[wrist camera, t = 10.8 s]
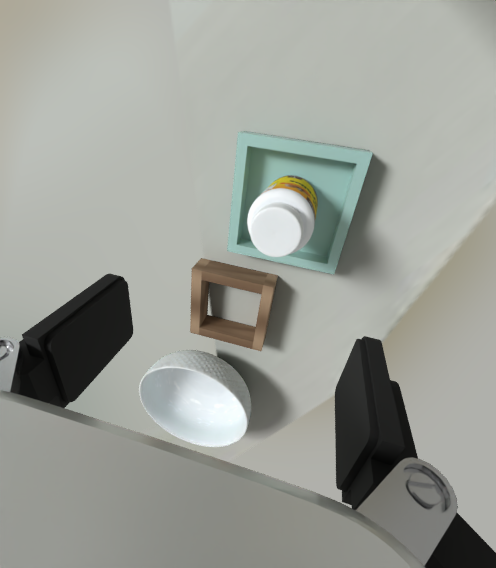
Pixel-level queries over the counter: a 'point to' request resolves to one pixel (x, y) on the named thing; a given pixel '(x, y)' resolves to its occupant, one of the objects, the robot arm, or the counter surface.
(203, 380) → the cereal bowl
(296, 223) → the supplement bottle
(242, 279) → the socket block
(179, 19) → the counter surface
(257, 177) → the tray
